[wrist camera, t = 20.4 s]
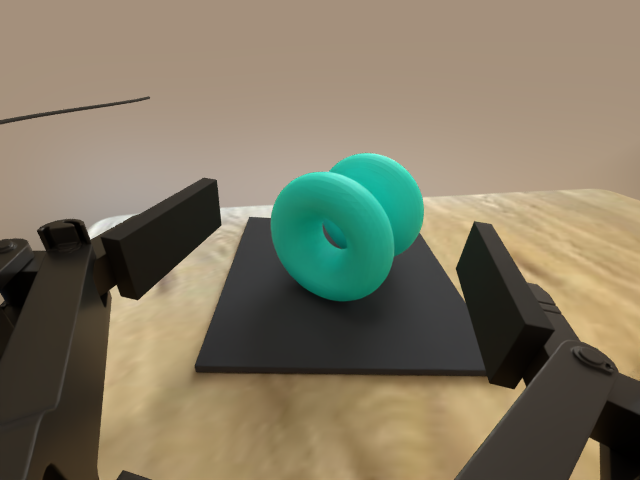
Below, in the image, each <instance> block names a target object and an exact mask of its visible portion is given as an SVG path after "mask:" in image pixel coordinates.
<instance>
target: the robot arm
mask: <svg viewBox="0 0 640 480" xmlns="http://www.w3.org/2000/svg"><path fill="white" fill-rule="evenodd" d="M146 99H150V97H144V98H140V99H135V100H128V101H122V102H116V103H109V104H101V105H95V106H88V107H80V108H74V109H66V110H59V111H52V112H46V113H39V114H33V115H27V116H21V117H16V118H10V119H4V120H0V124H5V123H9V122H15V121H20V120H25V119H31V118H37V117H43V116H48V115H55V114H61V113H67V112H74V111H80V110H87V109H93V108H100V107H107V106H114V105H120V104H126V103H132V102H137V101H142V100H146ZM220 226H221V216H220V206H219V197H218V187H217V180H215V179H208V178H202V179H201V180H199V181H197V182H195V183H194V184H192V185H190V186H188V187H187V188H185V189H183V190H182V191H180V192H178V193H176V194H174V195H173V196H171V197H169V198H167V199H165V200H164V201H162V202H160V203H158V204H157V205H155V206H153V207H152V208H150V209H148V210H146V211H144V212H143V213H141V214H138V215H135V216H132V217H130V218H129V219H127V220H125V221H123V223H120V224H118V225H116V226H115V227H113V228H111V229H109V230H107V231H106V232H104V233H102V234H100V235H98V236H97V237H95V238H93V239H91V240H90V237H89V235H88V232H87V229H86V227H85V224H84V222H83V221H81V220H77V219H65V220H58V221H54V222H51V223H48V224H46V225H44V226H42V227H40V228H39V229H38V230H37V232H38V234H39V236H40V239H41V241H42V243H43V245H44V247H45V249H46V251H32V249H31V247H30V245H29V243H28V242H27V240H24V239H4V240H2V241H0V293H1V295H2V297H3V298H4V300H5V301H4V302H3V303H2V304H1V305H0V480H99V477H98V470H97V460H98V448H99V437H100V425H101V414H102V402H103V391H104V379H105V368H106V356H107V345H108V334H109V322H110V311H111V299H112V297H111V294H110V291H109V290H110V289H111V288H113V287H114V286H115V285H117V287H118V290H119V292H120V295H121V296H122V297H126V298H130V299H135V300H139V299H140V298H141V297H142V296H143V295H144V294H145V293H146V292H148V291H149V290H150V289H151V288H152V287H153V286H154V285H155V284H156V283H158V282H159V281H160V280H161V279H162V278H163V277H164V276H165V275H167V274H168V273H169V272H170V271H171V270H172V269H173V268H174V267H175V266H177V265H178V264H179V263H180V262H181V261H182V260H183V259H184V258H185V257H187V256H188V255H189V254H190V253H191V252H192V251H193V250H194V249H196V248H197V247H198V246H199V245H200V244H201V243H202V242H203V241H204V240H206V239H207V238H208V237H209V236H210V235H211V234H212V233H213V232H214V231H216V230H217V229H218V228H219V227H220ZM456 271H457V274H458V278H459V281H460V284H461V288H462V291H463V295H464V298H465V302H466V305H467V308H468V312H469V315H470V319H471V322H472V325H473V329H474V332H475V336H476V339H477V342H478V346H479V349H480V353H481V356H482V360H483V363H484V366H485V370H486V373H487V377H488V380H489V383H490V384H494V385H499V386H503V387H507V388H511V389H515V388H516V386H517V385H518V383H519V382H520V380H521V379H522V377H523V380H524V382H525V385H526V388H525V390H524V391H523V392H522V394H521V395H520V396H519V397H518V399H517V400H516V401H515V402H514V404H513V405H512V406H511V408H510V409H509V410H508V411H507V413H506V414H505V415H504V416H503V418H502V419H501V420H500V422H499V423H498V424H497V425H496V427H495V428H494V429H493V430H492V432H491V433H490V434H489V436H488V437H487V438H486V439H485V441H484V442H483V443H482V444H481V446H480V447H479V448H478V450H477V451H476V452H475V453H474V455H473V456H472V457H471V458H470V460H469V461H468V462H467V464H466V465H465V466H464V467H463V469H462V470H461V471H460V472H459V474H458V475H457V476H456V478H455V479H454V480H569V478H570V476H571V474H572V472H573V469H574V467H575V465H576V463H577V461H578V459H579V457H580V455H581V453H582V451H583V449H584V447H585V445H586V443H587V441H588V438H589V437H590V438H592V439H594V440H596V441H598V442H600V480H640V381H638V380H635V379H633V378H630V377H628V376H626V375H623V374H621V373H619V372H618V369H617V367H616V366H615V364H614V362H612V361H611V360H610V359H609V358H608V357H607V356H606V355H605V354H604V353H602V352H601V351H599V350H598V349H596V348H594V347H592V346H590V345H588V344H586V343H584V342H581V341H580V340H579V338H578V337H577V335H576V334H575V332H574V331H573V329H572V328H571V326H570V325H569V323H568V322H567V320H566V319H565V317H564V316H563V315H561V312H560V310H559V309H558V307H557V306H556V304H555V303H554V301H553V300H552V298H551V297H550V295H549V294H548V293H547V292H546V291H544V290H543V289H542V288H541V287H540V286H538V285H537V284H532V283H527V282H526V281H525V279H524V277H523V276H522V274H521V272H520V271H519V269H518V267H517V266H516V264H515V262H514V261H513V259H512V257H511V256H510V254H509V252H508V251H507V249H506V247H505V246H504V244H503V242H502V241H501V239H500V238H499V236H498V234H497V233H496V231H495V229H494V228H493V226H492V224H487V223H481V222H475V221H474V223H473V226H472V228H471V231H470V234H469V236H468V239H467V241H466V244H465V246H464V249H463V252H462V254H461V257H460V259H459V262H458V264H457V267H456ZM117 480H151V479H148V478H145V477H142V476H139V475H136V474H133V473H130V472H127V471H124V470H123V471H122V472H121V474H120V475H119V477H118V478H117Z"/></svg>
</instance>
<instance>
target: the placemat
mask: <svg viewBox="0 0 640 480" xmlns="http://www.w3.org/2000/svg"><path fill="white" fill-rule="evenodd" d="M322 229H323V233H324V235H325V237H326V239H327V240H328V241H329V243H330V244H332V245H333V246H334V247H336V248H339V249H342V248H341V247H339V246H338V245H337V244H336V243H335V242H334V241H333V240H332V238H331V237H330V236H329V234H328V233H327V231H326V229H325V227H324V225H323V223H322ZM195 370H196V372H245V373H317V374H389V375H461V376H487V373H486V370H485V366H484V363H483V360H482V356H481V353H480V349H479V346H478V342H477V339H476V336H475V332H474V329H473V325H472V322H471V319H470V315H469V312H468V308H467V305H466V303H465V301H464V300H463V298H462V297H461V295H460V294H459V292H458V291H457V289H456V288H455V286H454V285H453V283H452V282H451V280H450V279H449V277H448V275H447V274H446V272H445V271H444V269H443V268H442V266H441V265H440V263H439V262H438V260H437V259H436V257H435V256H434V254H433V253H432V251H431V250H430V248H429V246H428V245H427V243H426V242H425V240H424V239H423V237H422V236H421V234H420V233H419V234H418V236H417V238H416V239H415V241H414V242H413V243H412V244H411V246H410V247H409V248H408V249H406V250H405V251H404V252H402V253H400V254H399V255H397V256H395V257H394V258H393V262H392V266H391V269H390V271H389V273H388V275H387V277H386V279H385V280H384V282H383V283H382V284H381V285H380V286H379V287H378V288H377V289H376V290H375V291H374V292H372V293H371V294H369V295H367V296H365V297H363V298H361V299H357V300H352V301H333V300H329V299H326V298H323V297H320V296H318V295H316V294H314V293H312V292H310V291H308V290H307V289H305V288H304V287H303V286H301V285H300V284H299V283H298V282H297V281H296V280H295V279H294V278H293V277H292V276H291V275H290V274H289V273H288V271H287V270H286V269H285V267H284V266H283V264H282V262H281V261H280V259H279V257H278V255H277V252H276V250H275V247H274V244H273V240H272V234H271V218H258V217H249V219H248V222H247V225H246V228H245V230H244V233H243V236H242V238H241V241H240V244H239V247H238V249H237V252H236V255H235V258H234V260H233V263H232V266H231V268H230V271H229V274H228V277H227V279H226V282H225V285H224V288H223V290H222V293H221V296H220V298H219V301H218V304H217V307H216V309H215V312H214V315H213V317H212V320H211V323H210V326H209V328H208V331H207V334H206V337H205V339H204V342H203V345H202V347H201V350H200V353H199V356H198V358H197V361H196V364H195Z"/></svg>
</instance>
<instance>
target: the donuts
mask: <svg viewBox="0 0 640 480" xmlns="http://www.w3.org/2000/svg"><path fill="white" fill-rule="evenodd" d="M423 217H424V205H423V199H422V195H421V192H420V190H419V187H418V185H417V183H416V181H415V180H414V178H413V177H412V176H411V174H410V173H409V172H408V171H407V170H406V169H405V168H404V167H402V166H401V165H400V164H399V163H397V162H396V161H394V160H392V159H390V158H388V157H385V156H382V155H378V154H372V153H362V154H356V155H352V156H349V157H347V158H345V159H343V160H341V161H340V162H339V163H337V164H336V165H335V166H334V167H333V168H332V169H331V170H330V171H329V172H313V173H308V174H305V175H302V176H300V177H298V178H296V179H294V180H293V181H291V182H290V183H289V184H288V185H287V186H286V187H285V188H284V189H283V190H282V191H281V192H280V194H279V195H278V197H277V199H276V201H275V204H274V206H273V210H272V214H271V234H272V240H273V244H274V247H275V250H276V252H277V255H278V257H279V259H280V261H281V262H282V264H283V266H284V267H285V269H286V270H287V271H288V273H289V274H290V275H291V276H292V277H293V278H294V279H295V280H296V281H297V282H298V283H299V284H300V285H301V286H303V287H304V288H305V289H307V290H308V291H310V292H312V293H314V294H316V295H318V296H320V297H323V298H326V299H329V300H333V301H352V300H357V299H361V298H363V297H365V296H367V295H369V294H371V293H372V292H374V291H375V290H376V289H377V288H378V287H379V286H380V285H381V284H382V283H383V282H384V280H385V279H386V277H387V275H388V273H389V271H390V269H391V266H392V262H393V258H394V257H395V256H397V255H399V254H400V253H402V252H404V251H405V250H406V249H408V248H409V247H410V246H411V244H412V243H413V242H414V241H415V239H416V238H417V236H418V234H419V232H420V230H421V227H422V223H423ZM322 223H323V225H324V227H325V229H326V231H327V233H328V234H329V236H330V237H331V238H332V240H333V241H334V242H335V243H336V244H337V245H338V246H339V247H341V248H342V249H339V248H336V247H334V246H333V245H332V244H330V243H329V241H328V240H327V239H326V237H325V235H324V233H323V229H322Z"/></svg>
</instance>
